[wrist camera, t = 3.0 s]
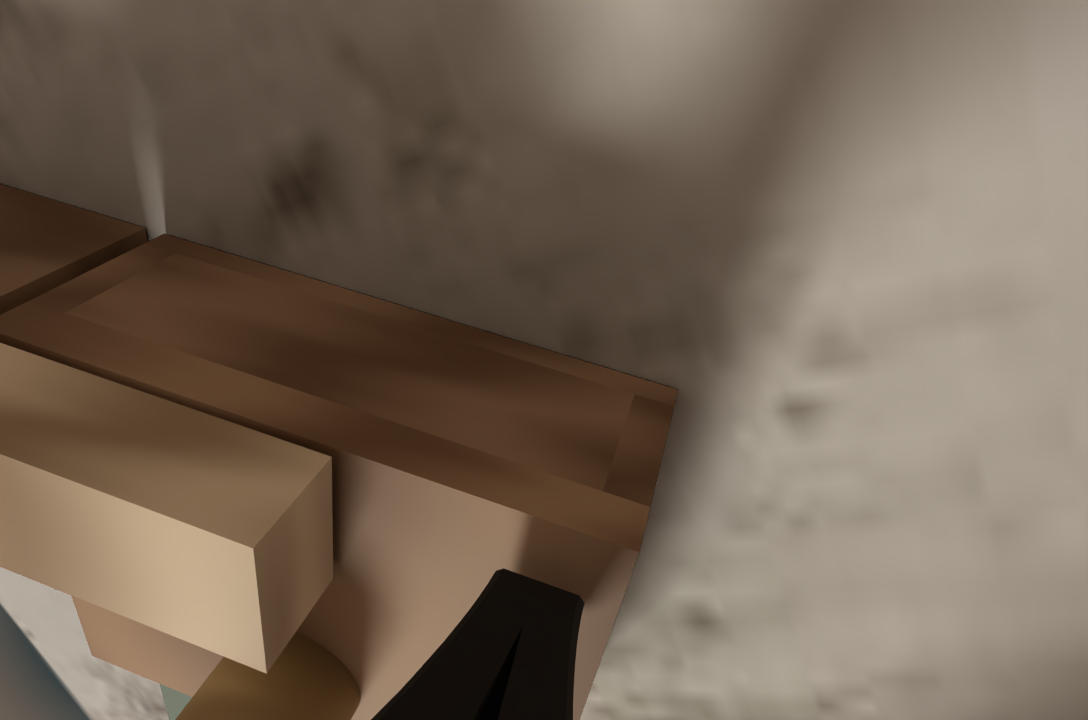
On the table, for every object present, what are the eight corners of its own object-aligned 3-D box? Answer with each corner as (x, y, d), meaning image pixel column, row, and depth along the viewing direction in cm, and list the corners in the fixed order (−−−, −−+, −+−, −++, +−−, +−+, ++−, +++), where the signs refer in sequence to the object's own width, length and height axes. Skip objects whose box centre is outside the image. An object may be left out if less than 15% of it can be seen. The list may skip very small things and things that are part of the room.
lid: (650, 506, 11) (593, 742, 8) (548, 795, 17) (491, 1003, 14) (28, 301, 13) (-223, 424, 10) (122, 623, 19) (-18, 771, 15)
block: (332, 456, 11) (253, 548, 9) (333, 578, 13) (266, 673, 11) (-81, 315, 12) (-213, 375, 11) (-29, 443, 14) (-137, 511, 12)
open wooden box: (677, 389, 14) (639, 552, 11) (583, 670, 20) (536, 840, 16) (-52, 168, 17) (-286, 235, 13) (46, 470, 22) (-99, 576, 19)
